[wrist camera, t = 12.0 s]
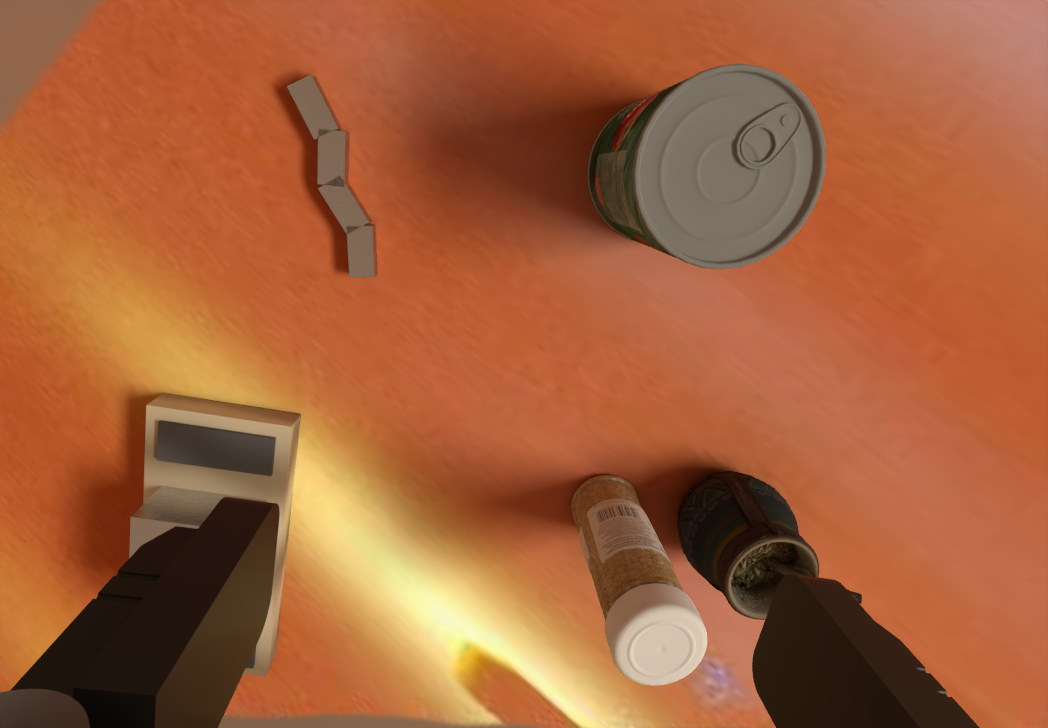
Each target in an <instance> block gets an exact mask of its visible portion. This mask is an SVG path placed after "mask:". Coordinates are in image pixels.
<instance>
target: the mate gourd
mask: <svg viewBox="0 0 1048 728" xmlns="http://www.w3.org/2000/svg"><path fill="white" fill-rule="evenodd" d="M677 522H678V531H679V532H678V533H679V537H680V542H681V546H682V549H683V552H684V554H685V555H686V557H687V559H688V561H689V562H690V564H691V565H692V567H693V568H694V569H695V570H696V571H697V572H698V573H699V574H700V575H702V576H703V577H704V578H705V579H706V580H707V581H708V582H709V583H710V584H711V585H712V586H713V587H715V588H716V589H717V590H719V591H721V592H722V593H723V594H724V596H725V597H726V599H727V600H728V603H729V604H730V605H731V607H732V608H733V609H734V610H735V611H736V612H738V613H739V614H741V615H744V616H746V617H749V618H752V619H761V620H764V619H766V617H767V614H768V612H769V609H770V606H771V603H772V601H773V598H774V595H775V592H776V590H777V587H778V585H779V583H780V581H781V580H782V579H783V577H785V576H786V575H789V574H795V575H802V576H809V577H817V578H818V575H819V563H818V559H817V555H816V553H815V552H814V550H813V549H812V548H811V546H810V545H809V544H807V543H806V542H805V540H804V539H803V538H802V537H801V536H800V535H799V531H798V526H797V521H796V519H795V516H794V514H793V512H792V510H791V508H790V506H789V505H788V503H787V502H786V500H785V499H784V498H783V497H782V496H781V495H780V494H779V493H778V492H777V491H776V490H775V488H773V487H771V486H770V485H768V484H766V483H765V482H763V481H761V480H759V479H756V478H754V477H752V476H750V475H747V474H742V473H738V472H733V471H724V472H720V473H718V472H716V473H713V474H712V475H709V476H708V477H707V478H705V479H704V480H702V481H701V482H699V483H698V484H696V485H695V486H694V487H693V488H692V489H691V490H690V491H689V492H688V493H687V494H686V496H685V497H684V500H683V501H682V504H681V505H680V508H679V512H678V520H677ZM846 590H847V589H846ZM847 591H848V592H849V593H850V594H851V595H852V596H853V598H854V599H855V600H856V601H857V602H858V603H860V604H861V602H862V595H861V594H859V593H855V592H851V591H849V590H847Z"/></svg>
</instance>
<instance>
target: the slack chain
mask: <svg viewBox="0 0 1048 728" xmlns="http://www.w3.org/2000/svg"><path fill="white" fill-rule="evenodd" d="M287 88H288V90H289V92H290V94H291V96H292V98H293V100H294V101H295V103H296V105H297V107H298V109H299V111H300V113H301V115H302V117H303V119H304V121H305V123H306V125H307V127H308V129H309V131H310V133H311V135H312V136H313V138H314V140H318V177H317V184H321V185H323V186H321V187H319V188H318V190H319V191H320V193H321V194H322V196H323V198H324V199H325V201H326V202H327V204H328V206H329V207H330V209H331V210H332V212H333V213H334V215H335V217H336V218H337V220H338V221H339V223H340V225H341V226H342V228H343V229H344V231H345V232H346V234H347V246H348V263H349V277H375V276H376V275H377V254H376V232H375V225H366V224H367V223H369V222H371V221H372V220H371V219H370V217H369V216H368V214H367V212H366V211H365V209H364V207H363V206H362V204H361V203H360V201H359V199H358V198H357V196H356V194H355V193H354V191H353V190H352V188H351V186H350V185H349V183H348V162H349V133H347V132H342V131H340V130H342V129H341V127H340V125H339V123H338V121H337V119H336V117H335V114H334V112H333V110H332V108H331V106H330V104H329V102H328V100H327V98H326V96H325V94H324V92H323V90H322V88H321V86H320V84H319V82H318V80H317V78H316V77H314V76H313V75H309V76H307V77H305V78H303V79H301V80H299V81H297V82H295V83H293V84H290V85H288V86H287Z"/></svg>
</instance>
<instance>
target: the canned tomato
mask: <svg viewBox="0 0 1048 728" xmlns="http://www.w3.org/2000/svg"><path fill="white" fill-rule="evenodd" d="M825 163H826V148H825V140H824V133H823V130H822V127H821V124H820V121H819V118H818V115H817V113H816V111H815V110H814V108H813V106H812V105H811V103H810V101H809V100H808V98H807V97H806V96H805V95H804V93H803V92H802V91H801V90H800V89H799V88H798V87H797V86H796V85H795V84H794V83H793V82H791V81H790V80H788V79H786V78H785V77H783V76H782V75H780V74H779V73H777V72H774V71H771V70H769V69H766V68H763V67H761V66H754V65H746V64H734V65H723V66H718V67H715V68H712V69H708V70H705V71H702V72H700V73H698V74H696V75H694V76H692V77H691V78H689V79H686V80H684V81H682V82H680V83H678V84H675V85H673V86H671V87H668V88H667V89H664V90H662V91H660V92H658V93H655V94H653V95H651V96H649V97H646V98H644V99H642V100H640V101H637V102H634V103H632V104H630V105H628V106H627V107H625V108H623V109H621V110H620V111H619V112H618V113H616V114H615V115H614V116H613V117H612V118H610V119H609V121H608V122H607V123H606V124H605V126H604V127H603V128H602V129H601V131H600V132H599V134H598V136H597V138H596V140H595V142H594V144H593V146H592V149H591V153H590V156H589V160H588V168H587V180H588V189H589V193H590V197H591V200H592V202H593V204H594V206H595V209H596V211H597V213H598V214H599V215H600V216H601V218H602V219H603V220H604V222H605V223H606V224H607V225H608V226H609V227H611V228H612V229H613V230H614V231H615V232H617V233H619V234H620V235H622V236H624V237H626V238H628V239H631V240H634V241H637V242H639V243H641V244H644V245H647V246H649V247H652V248H654V249H656V250H658V251H661V252H663V253H666V254H668V255H671V256H673V257H676V258H678V259H680V260H682V261H684V262H685V263H689V264H692V265H695V266H698V267H701V268H710V269H730V268H739V267H742V266H745V265H749V264H752V263H755V262H758V261H760V260H761V259H763V258H765V257H767V256H769V255H771V254H773V253H774V252H776V251H777V250H778V249H779V248H781V247H782V246H783V245H785V244H786V243H787V242H788V241H789V240H790V239H791V238H792V237H793V236H794V235H795V234H796V233H797V232H798V231H799V229H800V228H801V227H802V226H803V224H804V223H805V221H806V220H807V218H808V216H809V215H810V213H811V212H812V210H813V208H814V206H815V203H816V201H817V199H818V196H819V194H820V191H821V187H822V183H823V179H824V174H825Z"/></svg>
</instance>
